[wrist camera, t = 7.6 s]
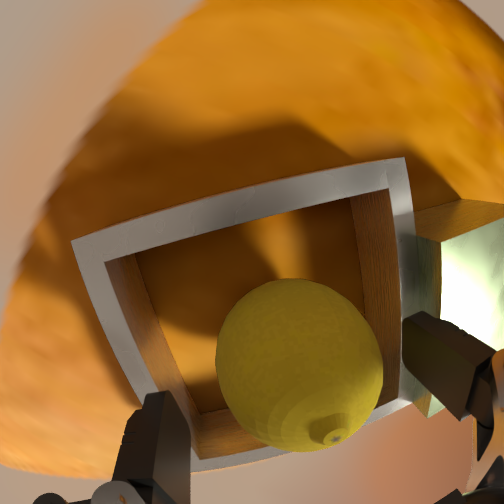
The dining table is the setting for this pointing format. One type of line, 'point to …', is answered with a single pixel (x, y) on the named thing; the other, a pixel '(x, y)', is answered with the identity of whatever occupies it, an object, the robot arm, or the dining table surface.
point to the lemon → (298, 365)
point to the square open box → (372, 271)
